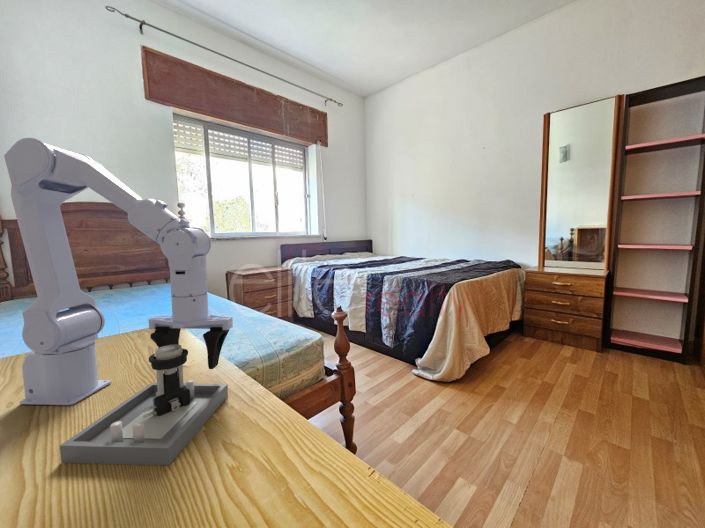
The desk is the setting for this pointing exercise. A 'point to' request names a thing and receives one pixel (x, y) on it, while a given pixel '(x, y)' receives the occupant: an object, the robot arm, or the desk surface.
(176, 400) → the push button
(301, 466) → the desk surface
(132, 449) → the pin tray
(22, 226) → the robot arm
